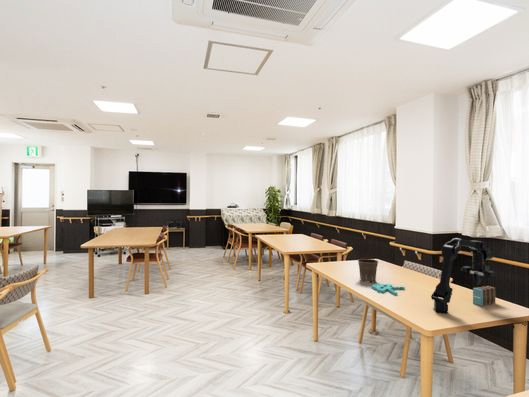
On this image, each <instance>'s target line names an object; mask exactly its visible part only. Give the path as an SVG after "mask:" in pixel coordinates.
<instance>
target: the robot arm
mask: <svg viewBox="0 0 529 397" xmlns="http://www.w3.org/2000/svg"><path fill="white" fill-rule="evenodd" d="M462 247H468V248H470V249H471V251H470V254H472V261H470V264H472V266H468V265H467V266H462V267H461V268H460V271H461V272H465V273H466V272H469V275H470V276H471V277H472V278H473V280H474V282H475V284H476V285H477V286H479V285H480V284H481V282H482V280H483V278H484V277H486V278H494V277H497V273H496V271H492V270H490V268H491V266H489V265H486V262H484V261H487V260H492V259H493V257H494V253H492V251H491V249H489V248H488V247H487V245H486V243H485V241H481V240H475V239H474V240H467V239H463V238H459V237H455V238H452V239H451V240H450V241H447V242H446V243H445V244H443V246H442V247H441V256H442V259H443V260H442V267H441V273H440V278H439V279H440V280H439V283H438V284H437V285H436V286H435V289H434V291H433V292H432V294H431V295H430V297H431V300H432V301H433V308H432V310H433V311H434V312H435V313H438V314H440V313H441V314H449V303H450V302H451V298H452V296H453V287H451V286H450V282H451V277H452V276H451V275H452V269H453V265H454V264H453V263H454V260H456V259H457V257H458V253H459V252H461V251H462Z"/></svg>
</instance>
